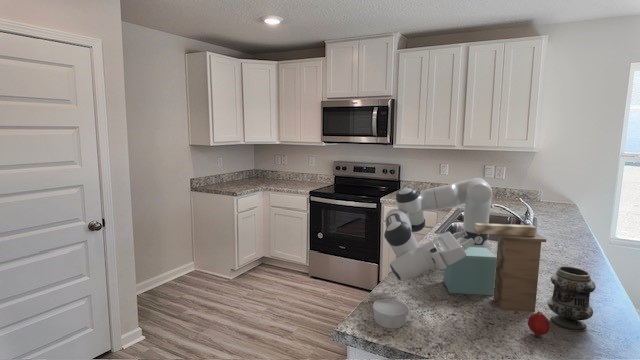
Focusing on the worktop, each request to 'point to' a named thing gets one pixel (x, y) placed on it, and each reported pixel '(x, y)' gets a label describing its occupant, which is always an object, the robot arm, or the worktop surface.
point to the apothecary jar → (571, 298)
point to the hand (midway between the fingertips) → (469, 236)
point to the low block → (472, 273)
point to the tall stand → (517, 271)
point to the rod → (505, 229)
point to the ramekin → (390, 313)
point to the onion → (538, 324)
